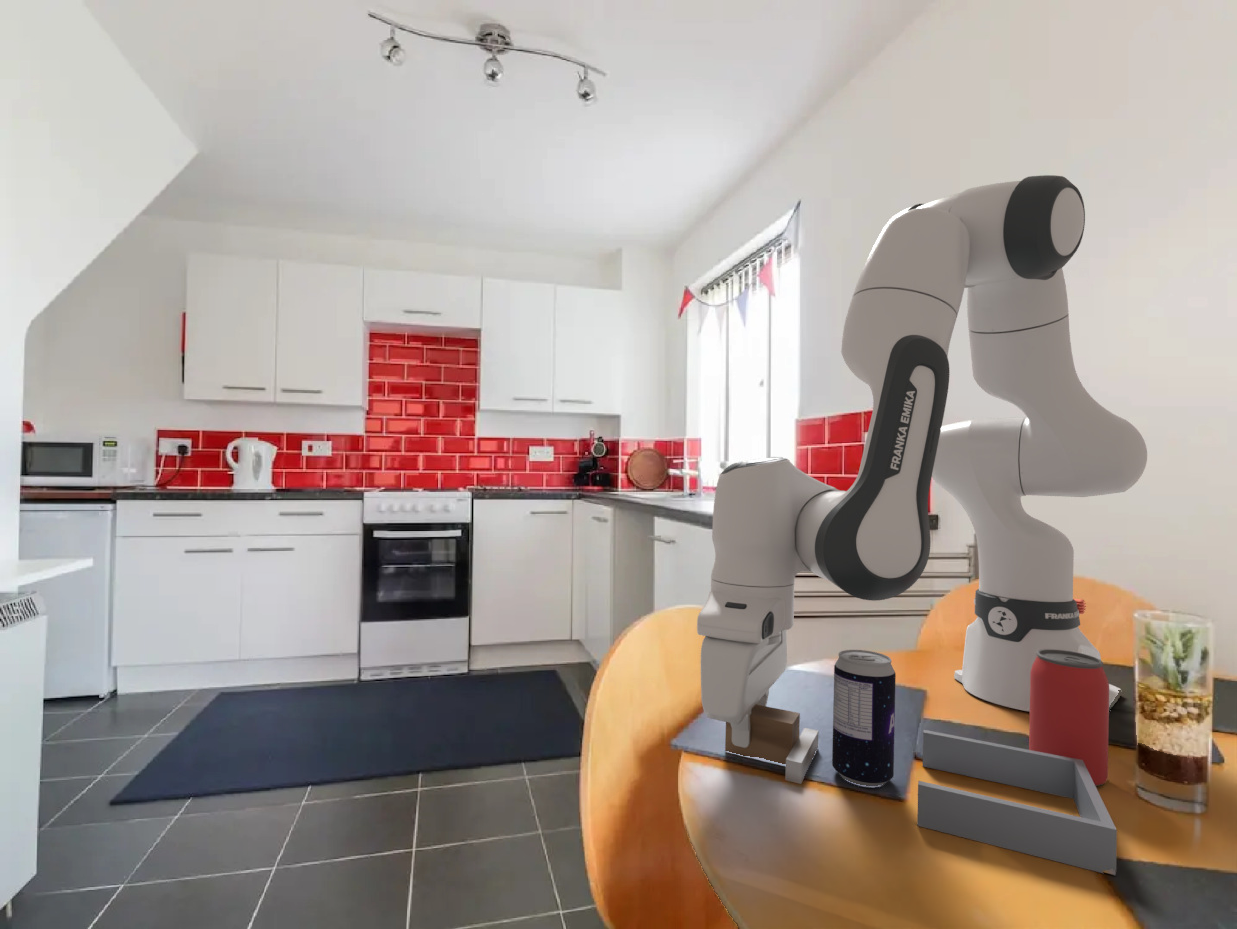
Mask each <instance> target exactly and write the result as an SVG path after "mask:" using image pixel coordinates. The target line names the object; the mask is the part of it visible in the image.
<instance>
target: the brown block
mask: <svg viewBox="0 0 1237 929" xmlns="http://www.w3.org/2000/svg"><path fill="white" fill-rule="evenodd" d="M800 715H801V713H800V712H796V711H792V710H791V711H790V710H786V709H782V708H775V707H771V706H767V705H766V706H761V705H755V706H754V707H753V708H752V709H751V715H750V726H752V741H751V742H750V744H749V745H748V747H746V748H744V747H740V746H735V745H734V744H733V743H732V727H731V724H730V723H729V722H725V741H724V742H725V745H724V746H725V747H724V752H725V751H729V752H732V753H736V754H740V755H743V756H750V757H759V758H764V759H766V760H770V761H774V762H778V763H782V764H786V767H785V774H784V775H785V781H788V782H792V783H796V784H799V785H800V784H801V785H802V783H803V780H804V779H805V777H804V776H806V775H805V773H806V771H807V769H808V767H809V765H810V763H811V761H812V758H813V757H814V754H815V751H816V750H817V748H818V749H819V730H818V729H812V728H808V727H804V728H803V730H801V733H800V722H801V721H800V719H801V718H800V717H801V716H800ZM817 751H818V750H817ZM815 755H816V754H815ZM814 758H815V757H814ZM812 762H813V761H812ZM811 764H812V763H811ZM810 766H811V765H810ZM809 768H810V767H809ZM808 770H809V769H808ZM807 772H808V771H807ZM806 774H807V773H806Z"/></svg>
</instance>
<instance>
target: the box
mask: <svg viewBox="0 0 1237 929" xmlns="http://www.w3.org/2000/svg"><path fill="white" fill-rule="evenodd" d="M922 735H923V736H922V767H924V768H929V769H934V770H937V771H943V772H947V773H952V774H957V775H961V776H966V777H970V778H975V779H980V780H985V781H990V782H994V783H997V784H998V783H999V784H1003V785H1009V786H1012V787H1016V788H1021V789H1022V788H1023V789H1026V790H1031V791H1037V792H1040V793H1045V794H1049V795H1054V796H1059V797H1064V798H1068V799H1073V801H1074V804H1075V806H1076V808H1077V812H1078V814H1079V816H1077V815H1074V814H1073V815H1072V814H1067V813H1063V812H1061V811H1054V810H1050V809H1045V808H1041V807H1038V806H1033V805H1029V804H1025V803H1024V804H1023V803H1019V802H1015V801H1010V800H1006V799H1001V798H999V797H998V798H997V797H993V796H988V795H984V794H979V793H975V792H969V791H966V790H962V789H957V788H953V787H948V786H944V785H939V784H936V783H931V782H926V781H921V780H917V781H918V783H917V818H916V820H917V822H916V823H917V824H916V825H917V826H918V827H921V828H926V829H930V830H933V831H936V832H940V833H941V832H942V833H944V834H947V835H953V836H957V837H961V838H963V839H968V840H973V841H976V842H979V843H983V844H987V845H992V846H996V847H999V848H1003V849H1007V850H1011V851H1015V852H1018V853H1021V854H1022V853H1023V854H1027V855H1030V856H1035V857H1038V858H1042V859H1046V860H1049V861H1055V862H1059V863H1061V864H1062V863H1063V864H1065V865H1070V866H1073V867H1077V868H1081V869H1083V870H1084V869H1085V870H1090V871H1091V872H1095V873H1096V872H1097V873H1100V874H1104V873H1103V871H1105V870H1110V869H1113V870H1116V871H1117V846H1118V844H1117V843H1118V842H1117V840H1118V836H1117V835H1118V833H1117V832H1118V830H1117V828H1116V826H1115V823H1114V822H1113V819H1112V818H1111V815H1110V813H1109V811H1108V808H1107V807H1106V805H1105V803H1104V801H1103V799H1102V797H1101V795H1100V793H1099V790H1098V788H1097V786H1095V784H1094V782H1093V780H1092V778H1091V776H1090V774H1089V772H1088V770H1087V768H1086V766H1085V764H1084V762H1083V760H1079V759H1074V758H1069V757H1064V756H1059V755H1053V754H1048V753H1043V752H1038V751H1032V750H1029V749H1026V748H1021V747H1017V746H1010V745H1005V744H1001V743H997V742H996V743H995V742H991V741H990V742H989V741H984V740H978V739H974V738H969V737H963V736H960V735H959V736H958V735H953V734H948V733H944V732H943V733H942V732H939V731H932V730H928V729H923V734H922Z"/></svg>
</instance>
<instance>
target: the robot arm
mask: <svg viewBox="0 0 1237 929" xmlns="http://www.w3.org/2000/svg"><path fill="white" fill-rule="evenodd" d="M1085 225H1086V210H1085V203H1084V198H1083V196H1082V194H1081V192H1080V190H1079V189H1078V187H1077V186H1076V185H1074V184H1073V183H1072V182H1071V181H1070V179H1067V178H1066V176H1063V175H1052V174H1051V175H1050V174H1049V175H1047V174H1045V175H1031V176H1027V177H1025V178H1023V179H1022V180H1013V181H1005V182H997V183H992V184H991V183H990V184H985V185H981V186H975V187H970V188H967V189H965V190H964V191H962V192H959V193H955V194H951V195H947V196H944V197H941V198H938V199H935V200H932V201H930V202H927V203H917V204H914V205H912V206H910V207H907V208H905V209H903V210H901V211H900V212H898V213H897V214H895V215H893V216H892V217H891V218H890V219H889V220H888V222H887V223H886V224H885V225H884V227H883V228H882V230H881V232H880V234H879V236H878V238H876V241H875V243H874V245H873V246H872V249H871V250H870V252H869V255H868V256H867V259H866V261H865V263H864V265H863V267H862V270H861V272H860V275H859V277H858V280H857V283H856V286H855V289H854V291H853V295H852V298H851V300H850V303H849V306H848V310H847V313H846V317H845V320H844V326H843V331H842V332H843V333H842V337H841V338H842V341H841V351H840V352H841V355H842V358H843V360H844V363H845V364H846V366H847V368H848V369H849V370H850V372H851V373H852V374H854V376H855V377H857V379H858V380H860V381H862V382H863V383H865V384H867V385H868V386H869V387H870V389H871V393H872V399H873V400H872V401H873V402H872V403H873V405H872V406H873V407H872V414H871V418H870V421H869V426H868V431H867V434H866V439H865V442H864V448H863V451H862V457H861V460H860V466H859V471H858V473H857V476H856V478H855V480H854V482H853V483H852V485H850V487H849V488H848V489H847V490H842V489H841V490H840V489H838V488H836V487H835V486H832V485H830V484H829V485H828V484H826V483H825V482H822V481H820V480H818V479H816V478H814V477H812V476H811V475H809V474H807V473H806V472H803V471H802V470H801V469H799V468H798V467H796V466H795V464H793V463H792V462H791V460H790V459H788V458H786V457H785V458H784V457H781V456H771V457H770V456H769V457H764V458H755V459H750V460H744V461H739V462H734V463H731V464H730V465H728V466H727V467H726V468H724V470H723V471H721V472H720V475H719V477H718V479H717V483H716V488H715V493H714V501H713V511H712V512H713V513H712V527H711V528H712V530H711V532H712V533H711V537H712V538H711V539H712V543H713V547H714V553H715V555H714V556H715V557H714V564H713V567H712V570H711V575H710V591H709V593H708V597H707V600H706V602H705V604H704V605H703V607H702V609H701V610H700V612H699V613H698V614H697V620H696V632H697V635H699V636H703V637H704V638H703V640H702V644H701V648H700V688H701V689H700V693H701V694H700V696H701V704H702V708H703V711H704V714H705V716H706V718H709V719H712V720H716V721H720V722H725V723H726V722H729V723H730V724H731V727H732V743H733V744H734V745H735V746H740V747H744V748H746V747H748V745H749V744H750V742H751V741H752V726H750V715H751V709H752V708H753V707H754V706H755V705H761V706H766V707H767V704H768V699H769V696H770V695H769V694H770V689H771V688H772V686H773V685H774V684H775V683H776V682H777V681H778V679H780V677H781V676H782V675H783V674H784V672H785V671H786V666H787V662H788V639H787V634H788V633H787V631H788V630H790V629H792V628H793V627H794V622H795V621H794V620H795V618H794V615H795V580H796V575H797V574H798V573H799V574H800V572H804V573H805V572H808V573H813V574H814V575H816V576H818V577H819V578H821V579H824V580H826V581H828V582H831V583H832V584H833V585H834V586H836V587H838V588H839V589H841V590H842V591H843V592H845V593H846V594H848V595H850V596H851V597H852V596H853V597H854V598H857V599H861V600H864V601H874V602H876V601H882V600H883V601H884V600H888V599H892V598H894V597H895V598H896V596H899V595H901V594H903V593H905V592H906V591H907V590H908V589H910V588H911V587H912V586H913V585H914V584H915V583H916V582H918V579H919V578H920V577H921V576H922V574H923V572H924V571H925V570H926V567H927V564H928V562H929V557H930V552H931V542H932V541H931V528H930V519H929V517H930V516H929V496H930V488H931V482H932V479H933V480H934V482H935V483H936V484H937V485H939V487H941V488H942V489H944V491H947V492H948V493H949V494H950V495H951V496H953V498H954V499H955V500H956V501H957V502H958V503H959V504H960V505H961V507H962V508H963V510H964V511H965V512H966V514H967V516H968V518H969V520H970V522H971V524H972V527H973V530H974V533H975V538H976V544H977V554H978V555H977V556H978V558H977V559H978V588H977V589H976V590H975V595H974V596H975V597H974V598H973V604H974V614H975V615H976V616H977V617H976V619H975V620H974V621H972V623H970V624H968V626H966V631H965V638H964V648H963V657H962V669H956V670H954V675H953V678H954V679H955V680H956V681H958V682H960V683H962V685H963V688H964V689H965V690H966V692H968V693H969V694H971V695H973V696H975V697H976V698H979V699H982V700H983V701H987V702H990V703H992V704H996V705H999V706H1002V707H1006V708H1011V709H1015V710H1020V711H1024V712H1029V713H1030V671H1031V668H1032V665H1033V663H1034V661H1035V659H1036V657H1037V654H1036V652H1038V651H1039V650H1044V649H1055V650H1065V651H1072V652H1077V653H1082V654H1086V655H1090V656H1093V657H1096V658H1098V659H1100V660H1101V661H1102V656H1101V653H1100V650H1098V649H1097V648H1096V647H1095V646H1094V645H1093V644H1092V642H1091V641H1090V640H1089V639H1088V638H1087V636H1086V635H1085V634H1084V633H1083V631H1081V629H1080V627H1079V626H1081V620H1080V615H1083V614H1084V613H1085V611H1086V607H1087V605H1086V604H1087V603H1086V601H1085V600H1084V599H1082V598H1080V599H1079V598H1074V557H1075V555H1074V554H1075V552H1074V550H1075V549H1074V547H1073V544H1072V542H1071V541H1070V539H1069V538H1068V536H1066V535H1065V533H1063V532H1061V530H1059V529H1057V528H1056V527H1054V526H1052V525H1049V524H1048V523H1046V522H1044V521H1043V520H1040V519H1038V518H1035V517H1033V516H1032V515H1030V514H1028V513H1027V512H1026V510H1025V509H1024V507H1023V505H1022V502H1021V499H1022V497H1025V496H1038V497H1039V496H1041V497H1043V496H1044V497H1064V498H1065V497H1068V498H1069V497H1071V498H1073V497H1074V498H1087V497H1096V496H1104V495H1105V496H1106V495H1111V494H1119V493H1125V492H1127V491H1128V490H1130V489H1131V488H1132V487H1133V486H1134V485H1136V483H1137V482H1138V481H1139V480H1140V478H1141V477H1142V475H1143V474H1144V472H1145V469H1146V466H1147V462H1148V449H1147V444H1146V440H1144V438H1143V435H1142V434H1141V433H1140V431H1139V430H1138V429H1137V427H1135V426H1134V425H1133V423H1131V422H1130V421H1129V420H1127V419H1124V418H1123V417H1121V416H1119V415H1116V414H1114V413H1112V412H1111V411H1110V410H1107V408H1105V407H1104V406H1103V405H1101V404H1100V403H1099V402H1098V401H1096V400H1095V399H1094V398H1093V397H1092V396H1091V395H1090V393H1089V392H1088V391H1087V389H1086V388H1085V387H1084V386H1083V384H1082V381H1081V380H1080V378H1079V376H1078V373H1077V371H1076V368H1075V364H1074V363H1075V362H1074V356H1073V353H1072V352H1073V351H1072V343H1071V335H1070V334H1071V332H1070V321H1069V320H1070V318H1069V314H1070V313H1069V301H1068V294H1067V285H1066V280H1065V275H1064V270H1063V267H1064V266H1066V265H1067V263H1068V262H1069V261H1070V260H1071V259H1072V257H1073V256H1074V255H1075V253H1077V251H1078V249H1079V247H1080V245H1081V243H1082V240H1083V235H1084V231H1085ZM965 289H967V296H966V297H967V298H966V299H967V300H966V302H967V303H966V305H967V306H966V309H967V310H966V311H967V328H968V336H969V347H970V349H969V350H970V357H971V366H972V369H971V370H972V376H973V379H974V380H975V383H976V384H977V386H979V388H981V390H983V391H984V392H985V393H987V394H988V395H990V396H992V397H994V398H997V399H1000V400H1003V401H1005V402H1007V403H1010V404H1012V405H1013V406H1015V407H1017V408H1018V409H1019V410H1020V411H1022V413H1023V414H1024V415H1025V416H1020V417H1019V416H1017V417H1016V416H1015V417H996V418H995V417H994V418H993V417H990V418H989V417H987V418H972V419H968V420H961V421H958V422H957V421H956V422H952V423H948V424H943V420H944V417H945V416H944V415H945V411H946V410H945V409H946V404H947V400H948V399H947V398H948V392H949V388H950V387H949V384H950V362H949V358H948V356H949V350H950V349H949V348H950V343H951V339H952V336H953V332H954V329H955V325H956V322H957V318H958V314H959V310H960V307H961V304H962V300H963V295H964V291H965ZM1118 690H1121V691H1122V689H1121V688H1120V687H1117V686H1115V685H1113V684H1110V683H1109V707H1110V705H1111V703H1112V702H1113V701H1114V699H1115V697H1116V696H1117V695H1118V693H1119V691H1118Z"/></svg>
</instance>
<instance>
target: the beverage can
mask: <svg viewBox="0 0 1237 929" xmlns="http://www.w3.org/2000/svg"><path fill="white" fill-rule="evenodd" d="M896 676H897V675H896V671H895V669H894V667H893V665H892V659H891V657H889V656H887V655H886V654H883V653H880V652H876V651H871V650H866V649H864V650H863V649H845V650H841V651H840V652H838V658H837V660H836V662H835V663H834V665H833V703H832V704H833V705H832V706H833V708H832V709H833V712H832V713H833V714H832V717H833V718H832V754H831V756H832V759H831V760H832V761H831V762H832V763H831V765H832V767H833V768H834V769H835V771H836V772H837V773H838V774H839V776H840V775H841V776H842V777H843V778H844V779H846V780H848V781H850V782H853V783H856V784H860V785H866V786H878V785H882V784H884V783H885V784H886V783H887V782H889V781H890V780H892V779H893V777H894V775H895V774H894V773H895V770H894V768H895V765H894V763H895V729H896V728H895V726H896V725H895V722H896V720H895V718H896V680H897V679H896V678H897V677H896ZM841 776H840V777H841ZM885 784H884V785H885Z"/></svg>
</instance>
